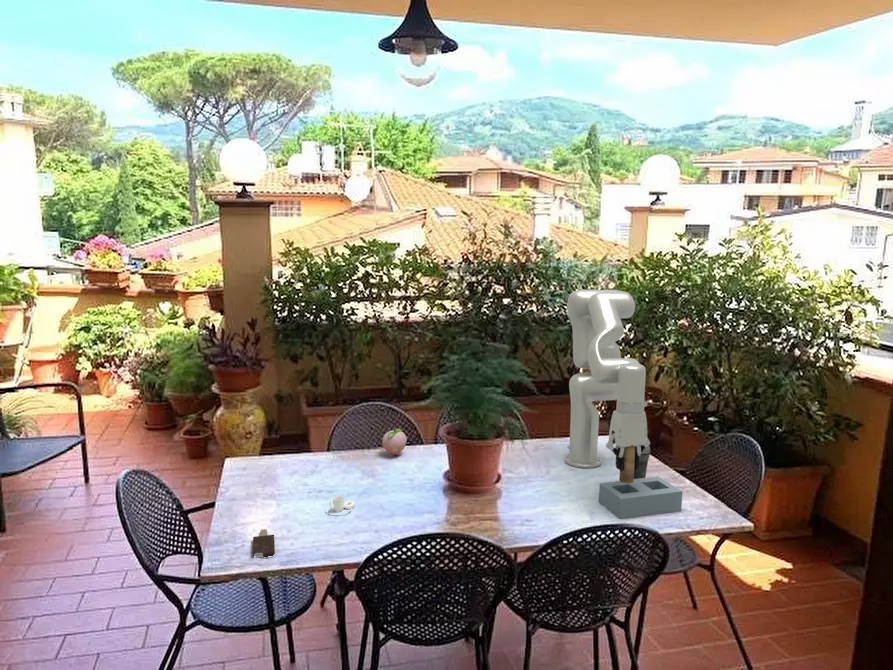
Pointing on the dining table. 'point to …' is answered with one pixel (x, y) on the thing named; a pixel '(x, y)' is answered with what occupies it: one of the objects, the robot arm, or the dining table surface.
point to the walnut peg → (628, 465)
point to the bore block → (640, 497)
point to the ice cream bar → (263, 544)
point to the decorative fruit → (394, 441)
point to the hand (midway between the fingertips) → (626, 468)
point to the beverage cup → (642, 464)
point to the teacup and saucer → (341, 503)
